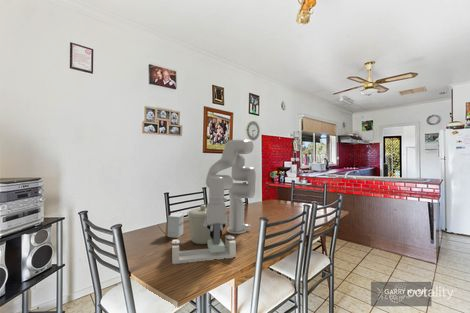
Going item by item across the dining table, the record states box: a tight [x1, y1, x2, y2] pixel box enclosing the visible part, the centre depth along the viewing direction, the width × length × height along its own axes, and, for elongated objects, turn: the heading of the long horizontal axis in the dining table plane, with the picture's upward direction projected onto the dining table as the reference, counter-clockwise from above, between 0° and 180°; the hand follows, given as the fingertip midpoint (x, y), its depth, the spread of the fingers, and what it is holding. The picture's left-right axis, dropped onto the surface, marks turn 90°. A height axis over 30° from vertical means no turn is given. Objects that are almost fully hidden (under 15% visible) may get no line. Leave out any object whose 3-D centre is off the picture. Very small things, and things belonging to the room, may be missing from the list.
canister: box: [186, 204, 212, 245], centre depth 134 cm, size 18×18×21 cm
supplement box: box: [167, 213, 185, 239], centre depth 142 cm, size 7×7×13 cm
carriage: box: [207, 224, 225, 253], centre depth 116 cm, size 7×9×13 cm
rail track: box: [170, 235, 237, 265], centre depth 114 cm, size 32×10×8 cm, turn 105°
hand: (215, 237), depth 116 cm, fingers closed on carriage, 3 cm apart
